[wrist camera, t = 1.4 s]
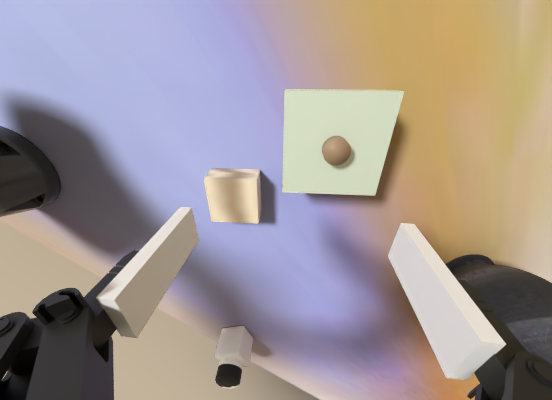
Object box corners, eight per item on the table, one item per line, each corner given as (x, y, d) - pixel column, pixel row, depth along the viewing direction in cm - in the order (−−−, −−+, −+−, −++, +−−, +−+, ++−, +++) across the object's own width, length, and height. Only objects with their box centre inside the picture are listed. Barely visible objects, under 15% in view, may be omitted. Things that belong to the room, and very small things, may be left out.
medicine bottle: (221, 327, 60) (206, 379, 50) (244, 324, 59) (233, 378, 48) (232, 340, 64) (220, 392, 53) (253, 338, 62) (246, 390, 52)
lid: (283, 183, 30) (281, 197, 27) (285, 89, 24) (284, 91, 21) (369, 186, 29) (378, 201, 26) (393, 90, 23) (410, 92, 20)
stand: (218, 208, 39) (211, 221, 36) (212, 168, 35) (203, 178, 32) (261, 210, 39) (258, 223, 35) (260, 169, 35) (256, 180, 31)
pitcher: (467, 305, 48) (669, 570, 22) (385, 282, 46) (502, 544, 20) (537, 253, 39) (1000, 590, 14) (440, 222, 37) (765, 547, 12)
